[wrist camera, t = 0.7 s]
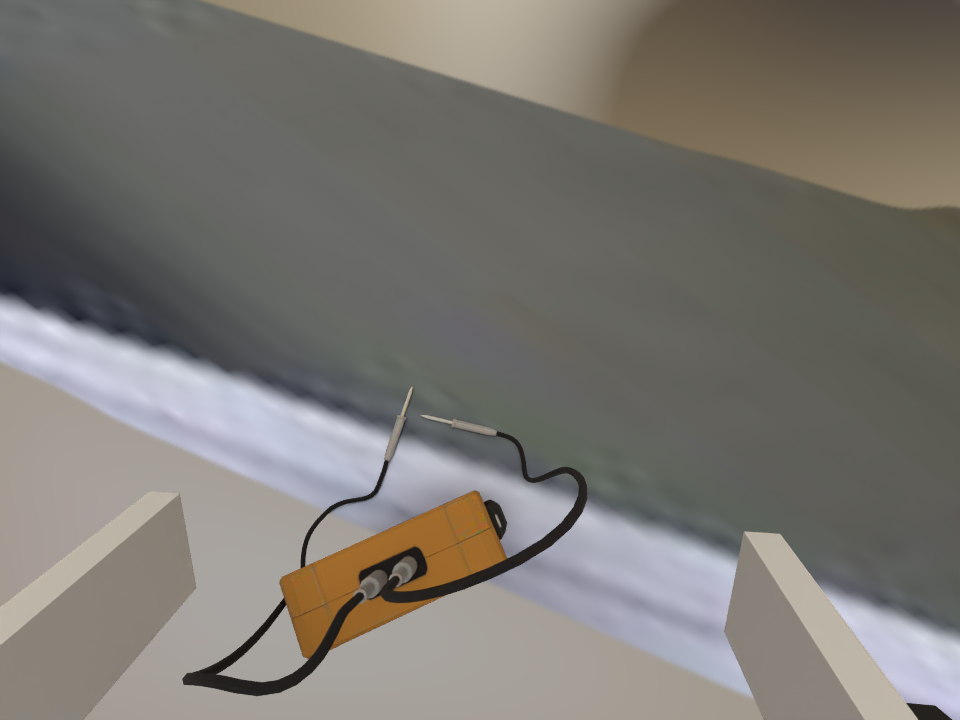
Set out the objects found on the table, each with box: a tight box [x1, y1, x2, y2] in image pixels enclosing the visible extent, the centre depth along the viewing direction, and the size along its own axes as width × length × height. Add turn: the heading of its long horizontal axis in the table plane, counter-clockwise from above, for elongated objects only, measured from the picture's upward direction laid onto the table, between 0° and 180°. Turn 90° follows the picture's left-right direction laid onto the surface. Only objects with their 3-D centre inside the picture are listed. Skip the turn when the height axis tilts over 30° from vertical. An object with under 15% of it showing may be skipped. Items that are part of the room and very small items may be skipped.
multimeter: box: [182, 386, 587, 696], centre depth 21 cm, size 15×10×20 cm
